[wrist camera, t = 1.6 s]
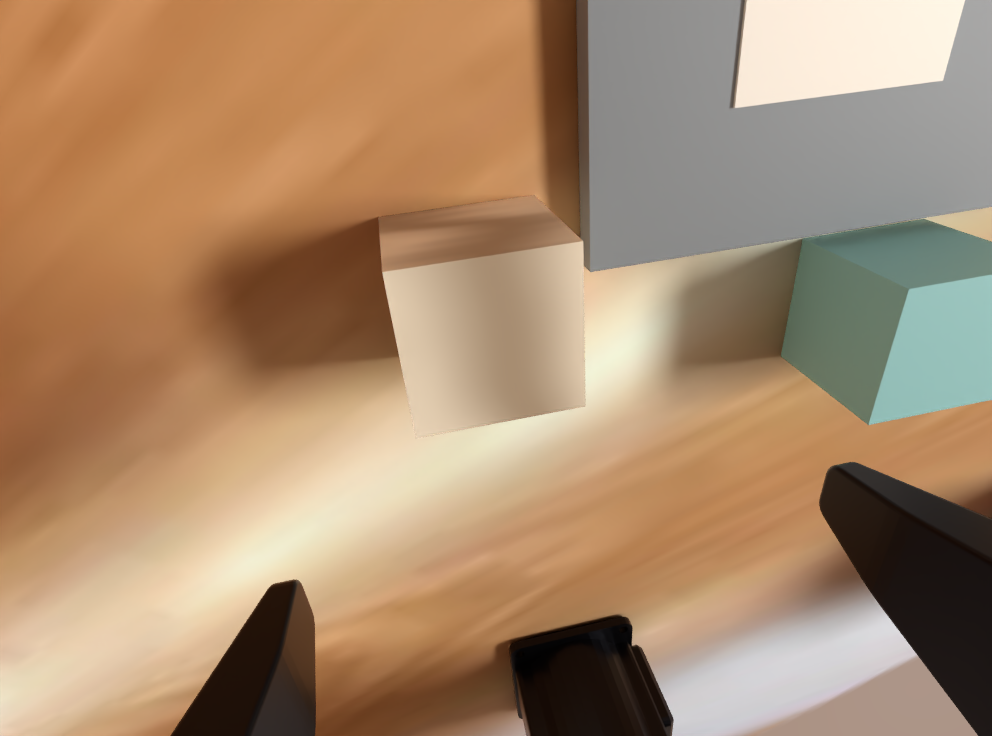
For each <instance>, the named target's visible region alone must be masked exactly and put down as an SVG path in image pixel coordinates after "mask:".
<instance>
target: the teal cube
mask: <svg viewBox="0 0 992 736" xmlns="http://www.w3.org/2000/svg"><path fill="white" fill-rule="evenodd" d="M781 357H782V358H784V359H785V360H786V361H788V362H789V363H790V364H791V365H793V366H794V367H795V368H796V369H798V370H799V371H800V372H802V373H803V374H804V375H805V376H807V377H808V378H809V379H810V380H812V381H813V382H814V383H816V384H817V385H818V386H819V387H821V388H822V389H823V390H824V391H826V392H827V393H828V394H830V395H831V396H832V397H833V398H835V399H836V400H837V401H839V402H840V403H841V404H842V405H844V406H845V407H846V408H847V409H849V410H850V411H851V412H853V413H854V414H855V415H856V416H858V417H859V418H860V419H861V420H863V421H864V422H865V423H867V424H868V425H870V424H875V423H880V422H885V421H890V420H895V419H900V418H905V417H910V416H915V415H919V414H924V413H929V412H934V411H939V410H944V409H949V408H954V407H959V406H964V405H968V404H973V403H978V402H983V401H988V400H992V242H991V241H988V240H985V239H982V238H979V237H976V236H973V235H970V234H967V233H964V232H961V231H958V230H955V229H952V228H949V227H946V226H943V225H940V224H937V223H934V222H931V221H928V220H925V219H921V220H915V221H909V222H903V223H897V224H891V225H884V226H878V227H872V228H866V229H860V230H853V231H847V232H841V233H835V234H829V235H822V236H816V237H810V238H804V239H803V240H802V246H801V251H800V256H799V262H798V267H797V272H796V278H795V283H794V288H793V294H792V299H791V304H790V310H789V315H788V320H787V326H786V331H785V336H784V342H783V347H782V352H781Z"/></svg>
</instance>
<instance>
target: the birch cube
mask: <svg viewBox="0 0 992 736" xmlns="http://www.w3.org/2000/svg"><path fill="white" fill-rule="evenodd" d="M378 221H379V235H380V249H381V263H382V274H383V279H384V284H385V289H386V294H387V299H388V304H389V309H390V314H391V319H392V323H393V328H394V333H395V338H396V343H397V348H398V353H399V358H400V363H401V368H402V373H403V378H404V383H405V388H406V393H407V398H408V403H409V408H410V413H411V418H412V422H413V427H414V432H415V437H416V438H421V437H426V436H432V435H437V434H442V433H447V432H453V431H458V430H463V429H468V428H474V427H479V426H484V425H490V424H495V423H500V422H505V421H511V420H516V419H521V418H526V417H532V416H537V415H542V414H547V413H553V412H558V411H563V410H568V409H574V408H579V407H584V406H585V331H584V253H583V240H582V239H581V238H579V237H578V236H577V235H576V234H575V233H574V232H573V231H572V230H571V229H570V228H569V227H568V226H567V225H566V224H565V223H564V222H562V221H561V220H560V219H559V218H558V217H557V216H556V215H555V214H554V213H553V212H552V211H551V210H550V209H549V208H548V207H547V206H546V205H544V204H543V203H542V202H541V201H540V200H539V199H538V198H537V197H536V196H535V195H530V196H523V197H516V198H509V199H502V200H495V201H488V202H481V203H474V204H467V205H460V206H453V207H446V208H439V209H432V210H425V211H418V212H411V213H404V214H397V215H389V216H382V217H378Z"/></svg>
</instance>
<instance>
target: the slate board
mask: <svg viewBox="0 0 992 736" xmlns="http://www.w3.org/2000/svg"><path fill="white" fill-rule="evenodd" d="M576 15H577V72H578V130H579V187H580V238H581V239H582V240H583V253H584V266H585V267H586V268H587V269H588V270H589V271H590V272H594V271H600V270H606V269H612V268H618V267H625V266H631V265H637V264H643V263H649V262H655V261H661V260H668V259H674V258H680V257H686V256H692V255H698V254H704V253H711V252H717V251H723V250H729V249H735V248H741V247H747V246H754V245H760V244H766V243H772V242H778V241H784V240H791V239H797V238H803V237H809V236H815V235H821V234H827V233H834V232H840V231H846V230H852V229H858V228H864V227H870V226H877V225H883V224H889V223H895V222H901V221H907V220H913V219H920V218H926V217H932V216H938V215H944V214H950V213H957V212H963V211H969V210H975V209H981V208H987V207H992V0H576Z"/></svg>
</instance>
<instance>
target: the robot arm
mask: <svg viewBox="0 0 992 736" xmlns="http://www.w3.org/2000/svg"><path fill="white" fill-rule="evenodd" d="M819 505H820V510H821V512H822V514H823V516H824V518H825V520H826V521H827V523H828V525H829V526H830V528H831V529H832V531H833V533H834V534H835V536H836V538H837V539H838V541H839V542H840V544H841V546H842V547H843V549H844V551H845V552H846V554H847V555H848V557H849V559H850V560H851V562H852V564H853V565H854V567H855V568H856V570H857V572H858V573H859V575H860V577H861V578H862V580H863V581H864V583H865V584H866V586H867V587H868V589H869V590H870V592H871V593H872V595H873V596H874V598H875V599H876V600H877V602H878V603H879V605H880V606H881V607H882V609H883V610H884V611H885V613H886V614H887V615H888V617H889V618H890V619H891V621H892V622H893V623H894V625H895V626H896V627H897V629H898V630H899V631H900V633H901V634H902V635H903V636H904V638H905V639H906V640H907V642H908V643H909V644H910V646H911V647H912V648H913V650H914V651H915V652H916V654H917V655H918V656H919V658H920V659H921V660H922V662H923V663H924V664H925V666H926V667H927V668H928V669H929V671H930V672H931V674H932V675H933V676H934V677H935V679H936V680H937V682H938V683H939V684H940V686H941V687H942V688H943V689H944V691H945V692H946V693H947V695H948V696H949V697H950V699H951V700H952V701H953V703H954V704H955V705H956V707H957V708H958V709H959V711H960V712H961V713H962V715H963V716H964V717H965V719H966V720H967V721H968V723H969V724H970V725H971V727H972V728H973V729H974V730H975V732H976V733H977V735H978V736H992V519H991V518H988V517H986V516H984V515H981V514H979V513H976V512H974V511H972V510H969V509H967V508H964V507H962V506H960V505H957V504H955V503H952V502H950V501H947V500H945V499H943V498H940V497H938V496H935V495H933V494H931V493H928V492H926V491H923V490H921V489H919V488H916V487H914V486H911V485H909V484H907V483H904V482H902V481H899V480H897V479H895V478H892V477H890V476H887V475H885V474H883V473H880V472H878V471H875V470H873V469H871V468H868V467H866V466H863V465H861V464H858V463H855V462H849V463H844V464H839V465H834V466H832V467H830V468H829V469H828V471H827V473H826V477H825V480H824V484H823V488H822V492H821V495H820V500H819ZM509 654H510V661H511V669H512V676H513V684H514V692H515V699H516V707H517V712H518V716H519V718H521V719H523V722H524V727H525V731H526V735H527V736H672V729H673V721H674V720H673V717H672V714H671V712H670V710H669V708H668V706H667V703H666V701H665V699H664V697H663V694H662V692H661V690H660V688H659V685H658V683H657V681H656V679H655V676H654V674H653V672H652V670H651V668H650V665H649V663H648V661H647V659H646V656H645V654H644V652H643V650H642V648H641V647H639V646H638V645H634V646H632V625H631V623H630V621H629V619H628V618H627V617H620V618H615V619H611V620H607V621H603V622H598V623H594V624H590V625H586V626H582V627H577V628H573V629H569V630H565V631H560V632H556V633H552V634H548V635H544V636H539V637H535V638H531V639H527V640H522V641H518V642H515V643H513V644H512V645H511V646H510V647H509ZM315 727H316V692H315V623H314V616H313V612H312V609H311V607H310V604H309V602H308V599H307V597H306V594H305V591H304V589H303V586H302V584H301V583H300V581H299V580H289V581H285V582H280V583H275V584H273V585H271V586H270V587H269V588H268V590H267V591H266V593H265V594H264V596H263V597H262V599H261V600H260V602H259V603H258V605H257V606H256V608H255V609H254V611H253V612H252V614H251V615H250V617H249V618H248V620H247V621H246V623H245V624H244V626H243V627H242V629H241V630H240V632H239V633H238V635H237V636H236V638H235V639H234V641H233V642H232V644H231V645H230V647H229V648H228V650H227V651H226V653H225V654H224V656H223V657H222V659H221V660H220V662H219V663H218V665H217V666H216V668H215V669H214V671H213V672H212V674H211V675H210V677H209V678H208V680H207V681H206V683H205V684H204V686H203V687H202V689H201V690H200V692H199V693H198V695H197V696H196V698H195V699H194V701H193V702H192V704H191V705H190V707H189V708H188V710H187V712H186V713H185V715H184V716H183V718H182V719H181V721H180V722H179V724H178V725H177V727H176V728H175V730H174V731H173V733H172V734H171V736H315Z"/></svg>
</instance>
